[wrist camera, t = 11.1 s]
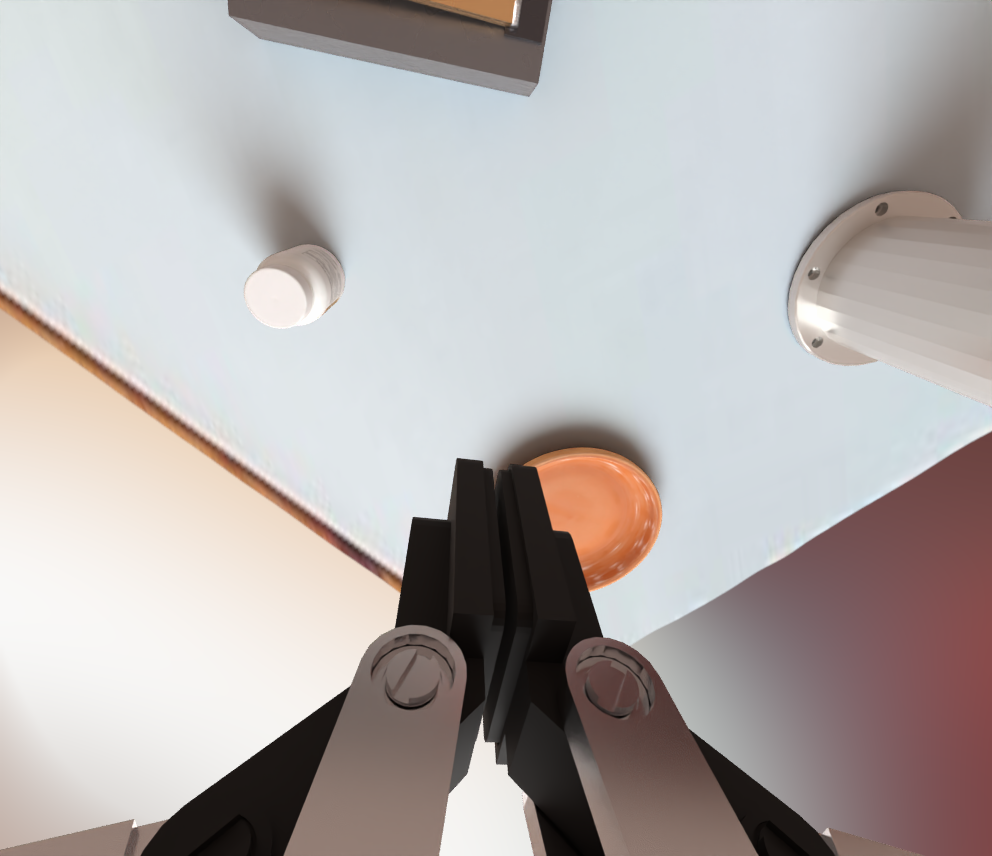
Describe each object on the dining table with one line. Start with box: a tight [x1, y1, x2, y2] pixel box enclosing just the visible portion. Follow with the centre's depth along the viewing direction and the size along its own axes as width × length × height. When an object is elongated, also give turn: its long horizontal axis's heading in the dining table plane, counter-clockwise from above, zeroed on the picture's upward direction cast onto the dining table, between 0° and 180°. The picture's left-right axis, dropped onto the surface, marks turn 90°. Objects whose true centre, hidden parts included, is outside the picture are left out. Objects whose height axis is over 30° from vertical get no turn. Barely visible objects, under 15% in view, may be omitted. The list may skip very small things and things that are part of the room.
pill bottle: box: [244, 244, 345, 329], centre depth 30 cm, size 4×4×8 cm
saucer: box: [523, 447, 662, 592], centre depth 43 cm, size 16×16×3 cm
